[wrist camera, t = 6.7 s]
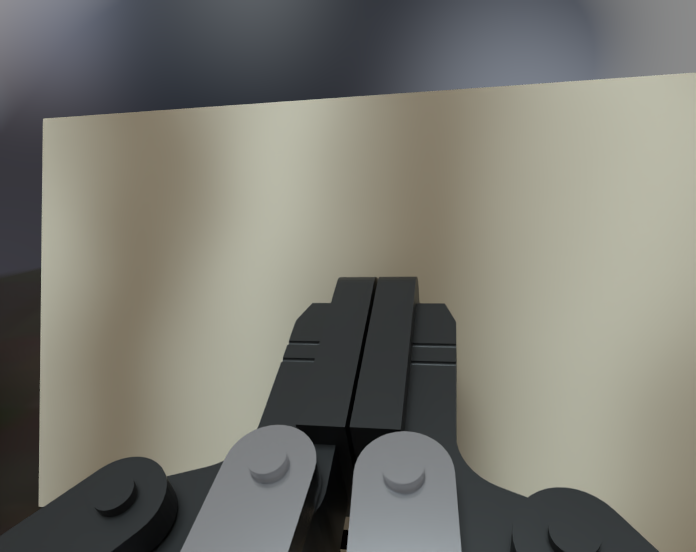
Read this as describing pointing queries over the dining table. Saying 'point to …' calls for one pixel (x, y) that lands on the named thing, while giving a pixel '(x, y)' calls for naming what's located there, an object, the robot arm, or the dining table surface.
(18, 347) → the dining table surface
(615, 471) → the board
